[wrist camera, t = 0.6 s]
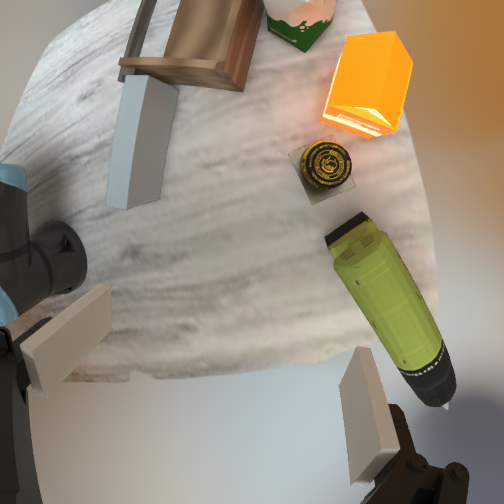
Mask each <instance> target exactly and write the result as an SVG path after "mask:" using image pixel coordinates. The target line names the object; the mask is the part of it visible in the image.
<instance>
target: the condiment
mask: <svg viewBox="0 0 504 504" xmlns="http://www.w3.org/2000/svg"><path fill="white" fill-rule="evenodd" d="M288 154H289V156H290V159H291V161H292V163H293V165H294V167H295V169H296V171H297V173H298V176H299V178H300V180H301V182H302V184H303V186H304V189H305V191H306V193H307V195H308V197H309V200H310V202H311V204H312V205H314V204H316V203H318V202H320V201H323V200H325V199H327V198H330V197H332V196H334V195H337V194H339V193H341V192H344V191H346V190H348V189H351V188H353V187H356V186H355V183H354V181H353V178H352V176H351V170H352V163H351V159H350V157H349V154H348V152H347V151H346V150H345V149H344V148H343V147H342V146H341V145H339V144H338V143H337V142H336V140H335V138H334V136H333V134H332V135H330V136H327V137H325V138H323V139H320V140H318V141H315V142H313V143H311V144H308V145H306V146H304V147H302V148H299V149H297V150H295V151H292V152H290V153H288Z"/></svg>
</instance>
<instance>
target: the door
mask: <svg viewBox="0 0 504 504" xmlns="http://www.w3.org/2000/svg"><path fill="white" fill-rule="evenodd" d="M178 94H179V90H177V89H175V88H173V87H171V86H169V85H167V84H165V83H163V82H161V81H159V80H157V79H155V78H153V77H151V76H148V75H126V78H125V83H124V87H123V92H122V96H121V101H120V106H119V111H118V116H117V122H116V127H115V133H114V139H113V146H112V152H111V160H110V167H109V175H108V184H107V194H106V206H110V207H114V208H119V209H123V210H128V209H131V208H134V207H137V206H140V205H142V204H145V203H148V202H151V201H154V200H157V199H160V193H161V186H162V179H163V173H164V166H165V160H166V154H167V149H168V143H169V138H170V132H171V127H172V122H173V117H174V112H175V107H176V103H177V98H178Z"/></svg>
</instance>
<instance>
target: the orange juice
mask: <svg viewBox="0 0 504 504" xmlns="http://www.w3.org/2000/svg"><path fill="white" fill-rule="evenodd" d="M412 64H413V61H412V60H411V59H410V57H409V55H408V53H407V51H406V50H405V48H404V46H403V44H402V43H401V41H400V39H399V38H398V36H397V34H396V31H388V32H378V33H369V34H361V35H354V36H347V39H346V42H345V46H344V49H343V51H342V53H341V55H340V58H339V61H338V64H337V66H336V68H335V71H334V74H333V78H332V81H331V85H330V88H329V92H328V95H327V99H326V102H325V105H324V109H323V112H322V116H321V119H320V122H322V123H325V124H328V125H331V126H334V127H337V128H340V129H342V130H345V131H348V132H351V133H354V134H356V135H359V136H362V137H364V138H371V137H375V136H380V135H382V134H386V133H390V132H394V131H396V130H397V126H398V123H399V119H400V115H401V111H402V108H403V104H404V99H405V96H406V91H407V87H408V83H409V79H410V74H411V69H412Z"/></svg>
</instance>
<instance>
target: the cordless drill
mask: <svg viewBox="0 0 504 504" xmlns="http://www.w3.org/2000/svg"><path fill="white" fill-rule="evenodd" d="M325 241H326V244H327V247H328V250H329V252H330V253H331V255H332V256H333V258H334V259H335V260H334V269H335V271H336V272H337V274H338V275H339V277H340V278H341V280H342V281H343V283H344V284H345V286H346V287H347V289H348V290H349V292H350V293H351V295H352V296H353V298H354V300H355V301H356V303H357V304H358V306H359V307H360V309H361V310H362V312H363V314H364V315H365V317H366V318H367V320H368V321H369V323H370V325H371V326H372V328H373V329H374V331H375V333H376V334H377V336H378V337H379V339H380V341H381V342H382V344H383V345H384V347H385V349H386V350H387V352H388V354H389V355H390V357H391V358H392V360H393V362H394V363H395V365H396V366H397V368H398V370H399V371H400V373H401V374H402V376H403V377H404V379H405V380H406V382H407V383H408V384H409V385H410V387H411V388H412V389H413V391H414V392H415V394H416V395H417V396H418V398H419V399H420V400H421V401H422V402H423V403H424V404H425V405H427V406H430V407H440V406H443V407H444V408H445V409H447V410H448V402H449V401H450V400H451V398H452V397H453V395H454V393H455V390H456V379H455V373H454V370H453V367H452V363H451V360H450V356H449V354H448V351H447V349H446V346H445V343H444V341H443V339H442V336H441V334H440V332H439V329H438V327H437V325H436V323H435V321H434V319H433V317H432V315H431V313H430V311H429V309H428V307H427V305H426V303H425V301H424V299H423V297H422V295H421V293H420V291H419V289H418V288H417V286H416V284H415V282H414V280H413V278H412V277H411V275H410V273H409V271H408V269H407V268H406V266H405V264H404V262H403V261H402V259H401V257H400V256H399V254H398V252H397V250H396V249H395V247H394V245H393V244H392V242H391V240H390V239H389V237H388V235H387V234H386V233H385V232H383V231H380V230H378V229H377V227H376V225H375V224H374V222H373V221H372V220H371V219H370V218H369V217H368V216H367V215H365V214H364V213H363V212H360V213H359V214H357V215H356V216H355V217H353V218H352V219H350V220H349V221H347V222H346V223H345V224H343V225H342V226H340V227H339V228H337V229H336V230H334V231H333V232H332V233H330V234H329V235H327V236H326V237H325Z"/></svg>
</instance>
